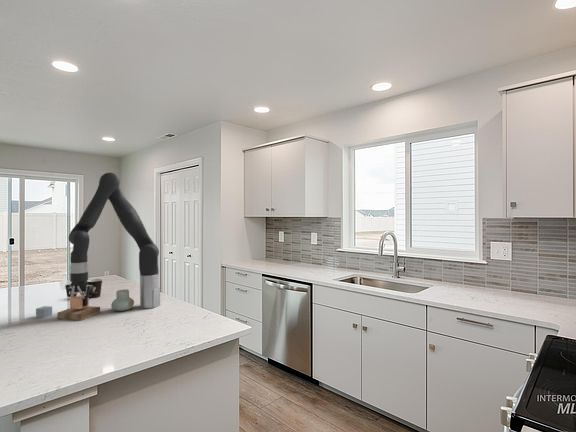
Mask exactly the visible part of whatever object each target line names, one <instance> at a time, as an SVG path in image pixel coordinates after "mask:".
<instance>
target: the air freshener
mask: <svg viewBox="0 0 576 432" xmlns="http://www.w3.org/2000/svg"><path fill="white" fill-rule="evenodd" d="M115 297H116V299H114V300H113V301H112V303H111V305H110V306H111V309H112V310H114V311H116V312H126V311H129V310H130V309H132V308H133V307H134V305H135V304H134V303H135V300H134V299H133V298H131V297H130V290H129V289H127V288H125V289H118V290H116V294H115Z"/></svg>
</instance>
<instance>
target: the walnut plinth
mask: <svg viewBox="0 0 576 432" xmlns="http://www.w3.org/2000/svg"><path fill="white" fill-rule="evenodd" d="M98 314H101V306H92V305H89V306H87V307H84V308H81V309H71V308H70V307H69V308H67V309H64V310H61V311H59V312H57V315H56V316H57V318H56V319H57V320H68V321H69V320H70V321H84V320H85V319H89V318H91V317H93V316H96V315H98Z"/></svg>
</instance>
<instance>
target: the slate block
mask: <svg viewBox="0 0 576 432" xmlns="http://www.w3.org/2000/svg"><path fill="white" fill-rule="evenodd" d="M49 317H53V306H52V305H51V306H49V305H43V306H41V307H37V308H35V318H36V319H46V318H49Z"/></svg>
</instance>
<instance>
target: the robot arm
mask: <svg viewBox="0 0 576 432" xmlns="http://www.w3.org/2000/svg"><path fill="white" fill-rule="evenodd" d="M120 181H121V180H120V178H119V176H118V175H117V174H116V173H113V172H105V173H104V174H102V175H101V176H100V177H99V181H98V186H97V189H96V191H95V193H94V195H93V197H92V199H91V200H90V202H89V203H88V205H87V206H86V208H85V209H84V212H83V213H82V214H81V217H80V219H79V221H78V222H77V223H76V224H75V225H74V226H73V228H72V229H71V231H70V232H69V235H68V241H69V243H71V244H72V251H71V252H70V256H69V257H70V263H69V264H70V266H69V282H70V283H68V284H65V286H64V287H65V291H66V297H68V298H69V299H70V298H72V297H75V296H78V293H79V295H82V298H83V307H85V306H87V304H88V298H89V297H91V296H92V291H93V285H88V283H87V280H89V263H88V251H89V247H90V246H89V245H90V235H89V232H90V230H91V229H93V228H94V227H95V226H96V224H97V221H98V220H99V218H100V217H101V215H102V212H103V210H104V209H105V206H106V204H107V202H108V200H109V202H110V203H111V206H112V208H113V210H114V212H115V214H116V216H117V219H118V220H119V222H120V223H121V225H122V227H123V228H124V229H125V231H126V232H127V233H128V234H129V235H130V237H132V239H133V240H134V241H135V243H136V244H137V247H138V250H139V251H138V269H139V307H140V309H155V308H156V307H159V306H160V305H161V287H160V286H159V285H160V284H159V259H158V258H159V257H158V256H159V255H160V250H159V248H158V247H157V245H156V244H155V243H154V241H153V240H152V238H151V237H150V236H149V234H148V232H147V229H146V226H145V225H144V223H143V221H142V219H141V217H140V215H139V214H138V212H137V211H136V209H135V207H134V206H133V204H131V203H130V202H129V201H128V200H127V199H126V197H125V195H124V193H123V192H122V190H121V187H120V184H121V183H120ZM89 299H90V298H89Z"/></svg>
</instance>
